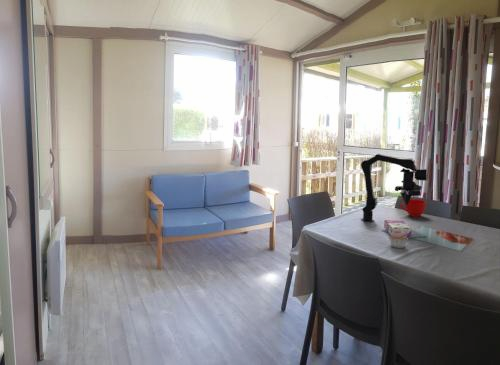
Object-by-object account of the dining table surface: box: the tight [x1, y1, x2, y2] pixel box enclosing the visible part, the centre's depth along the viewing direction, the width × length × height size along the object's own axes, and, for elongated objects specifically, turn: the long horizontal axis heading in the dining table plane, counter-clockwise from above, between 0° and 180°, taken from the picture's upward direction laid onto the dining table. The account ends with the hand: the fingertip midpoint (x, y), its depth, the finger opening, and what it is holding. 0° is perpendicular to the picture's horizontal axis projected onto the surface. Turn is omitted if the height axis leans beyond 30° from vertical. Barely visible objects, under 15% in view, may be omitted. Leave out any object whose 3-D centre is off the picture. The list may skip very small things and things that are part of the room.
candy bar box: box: [383, 219, 413, 236], centre depth 225 cm, size 11×5×16 cm
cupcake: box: [388, 228, 409, 249], centre depth 201 cm, size 9×9×10 cm
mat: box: [381, 229, 427, 239], centre depth 224 cm, size 16×18×1 cm
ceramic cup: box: [400, 198, 427, 218], centre depth 265 cm, size 13×17×10 cm
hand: (406, 204), depth 241 cm, fingers closed
